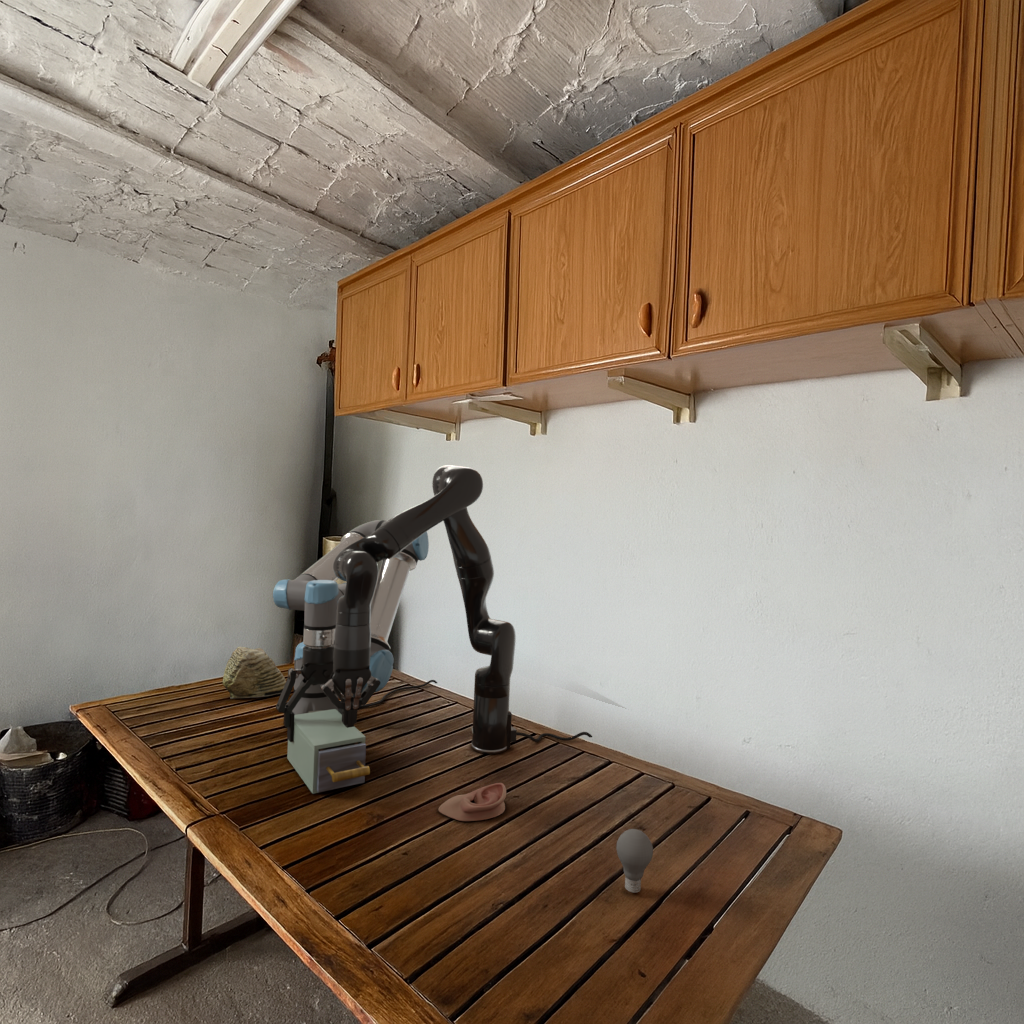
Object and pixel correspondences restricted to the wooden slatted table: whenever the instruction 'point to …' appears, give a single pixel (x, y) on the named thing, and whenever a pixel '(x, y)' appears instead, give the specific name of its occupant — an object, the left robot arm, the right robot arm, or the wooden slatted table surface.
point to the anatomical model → (476, 804)
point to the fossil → (252, 674)
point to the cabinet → (317, 741)
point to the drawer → (341, 766)
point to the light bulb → (634, 857)
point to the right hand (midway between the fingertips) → (349, 726)
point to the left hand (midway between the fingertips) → (316, 735)
